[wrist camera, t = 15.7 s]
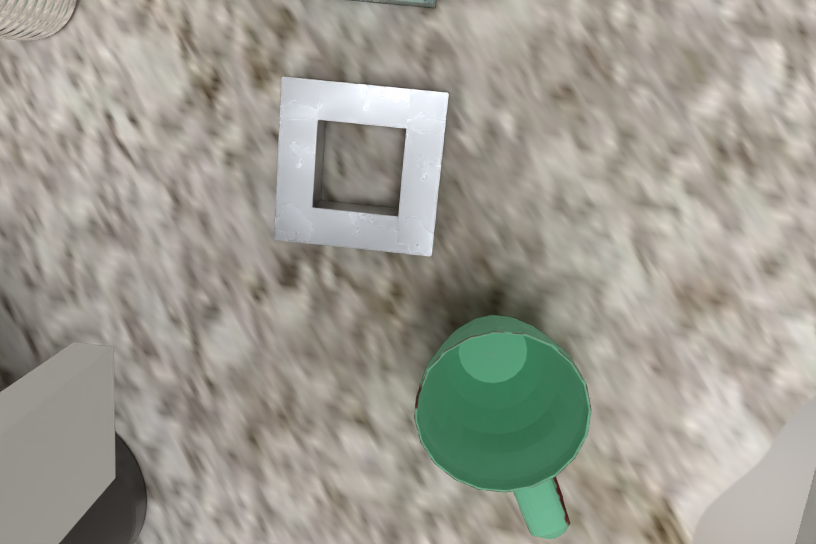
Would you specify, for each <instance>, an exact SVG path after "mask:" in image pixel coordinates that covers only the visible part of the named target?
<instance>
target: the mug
mask: <svg viewBox="0 0 816 544" xmlns="http://www.w3.org/2000/svg"><path fill="white" fill-rule="evenodd" d="M590 416H591V405H590V400H589V394H588V389H587V384H586V382H585V380H584V378H583V377H582V375H581V373H580V372H579V370H578V368H577V366H576V365H575V363H574V361H573V360H572V358H571V357H570V355H569V354H567V353H566V352H565V351H564V350H563V349H562V348H560V347H559V346H558V345H557V344H556V343H555V342H553V341H552V340H551V339H550V338H549V337H547V336H546V335H545V334H543V333H542V332H541V331H539V330H538V329H536V328H535V327H534V326H532V325H529V324H527V323H525V322H522V321H520V320H517V319H515V318H512V317H508V316H498V315H489V316H485V317H480V318H476V319H474V320H472V321H470V322H469V323H467V324H465V325H463V326H461V327H460V328H458V329H457V330H455V331H454V332H453V333H452V335H451V336H450V337H449V338H448V339H447V340H446V341H445V342H444V343H443V344H442V346H441V347H440V348H439V350H438V351H437V353H436V354H435V355H434V356H433V358H432V359H431V360H430V361H429V362H428V365H427V367H426V370H425V372H424V374H423V377H422V379H421V382H420V384H419V390H418V393H417V396H416V403H415V415H414V419H415V423H416V427H417V431H418V435H419V438H420V442H421V444H422V445H423V447H424V448H425V450H426V451H427V453H428V454H429V456H430V457H431V459H432V460H433V462H434V464H436V465H437V466H438V467H439V468H441V469H442V470H443V471H444V472H446V473H447V474H448V475H449V476H451V477H452V478H453V479H454V480H457V481H459V482H462V483H464V484H467V485H469V486H472V487H474V488H477V489H479V490H488V491H498V492H511V491H513V492H514V494H515V497H516V500H517V502H518V505H519V507H520V510H521V512H522V515H523V517H524V519H525V522H526V524H527V526H528V529H529V531H530V533H531V535H534V536H538V537H541V538H545V539H554V538H557V537H558V536H560V535H562V534H563V533H565V532H566V530H567V528H568V526H569V525H570V521H569V518H568V515H567V511H566V508H565V505H564V501H563V496H562V493H561V490H560V487H559V485H558V482H557V479H556V476H557V475H558V474H559V473H560V472H561V471H562V470H563V469H564V468H565V467H566V466H567V465H568V464H569V463H570V462H571V461H572V460H574V459H575V458H576V456H577V454H578V452H579V450H580V448H581V446H582V445H583V443H584V441H585V439H586V437H587V435H588V429H589V423H590Z"/></svg>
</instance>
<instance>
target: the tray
mask: <svg viewBox="0 0 816 544" xmlns="http://www.w3.org/2000/svg"><path fill="white" fill-rule="evenodd" d="M352 1H362V2H373V3H384V4H394V5H405V6H416V7H426V8H435V4H436V0H352Z"/></svg>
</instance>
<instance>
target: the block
mask: <svg viewBox="0 0 816 544" xmlns="http://www.w3.org/2000/svg"><path fill="white" fill-rule="evenodd" d="M448 98H449V92H440V91H430V90H420V89H410V88H400V87H389V86H379V85H369V84H359V83H349V82H339V81H328V80H318V79H308V78H298V77H282V82H281V104H280V125H279V146H278V168H277V189H276V211H275V232H274V240H281V241H291V242H300V243H310V244H319V245H328V246H338V247H347V248H357V249H366V250H375V251H385V252H394V253H404V254H413V255H422V256H432V248H433V239H434V230H435V220H436V211H437V201H438V192H439V183H440V173H441V164H442V154H443V145H444V135H445V126H446V117H447V107H448ZM326 120H327V121H337V122H347V123H357V124H367V125H377V126H387V127H397V128H406V139H405V150H404V161H403V172H402V182H401V193H400V204H399V208H392V207H382V206H373V205H363V204H353V203H344V202H334V201H325V200H321V190H322V175H323V159H324V143H325V127H326Z"/></svg>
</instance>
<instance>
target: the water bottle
mask: <svg viewBox="0 0 816 544" xmlns="http://www.w3.org/2000/svg"><path fill="white" fill-rule="evenodd" d="M75 5H76V0H0V39H8V40H20V41H23V40H38V39H43V38H46V37H49V36H51V35H53V34H55V33H56V32H58V31H59V30H60V29H62V28H63V27H64V26H65V24H66V23H67V22H68V21H69V19H70V17H71V16H72V13H73V11H74V8H75Z"/></svg>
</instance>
